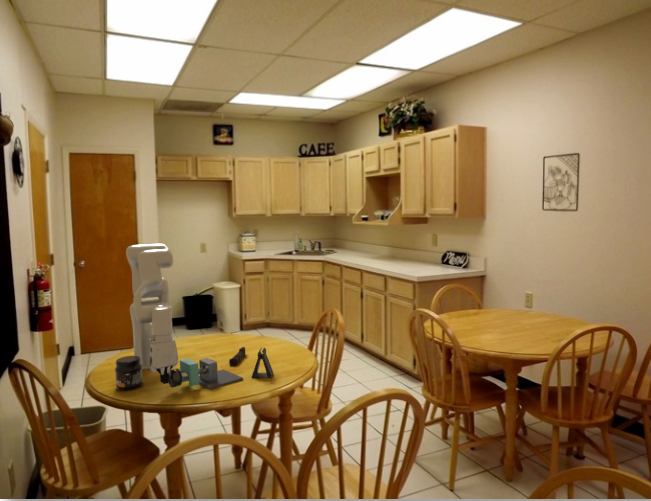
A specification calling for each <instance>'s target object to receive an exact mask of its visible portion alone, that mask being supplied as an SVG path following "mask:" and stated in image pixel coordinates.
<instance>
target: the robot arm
mask: <svg viewBox="0 0 651 501" xmlns="http://www.w3.org/2000/svg"><path fill="white" fill-rule="evenodd" d="M172 253H173V252H172V251H171V249H170V248H169V247H168V246H167V245H166V244H164V243H149V244H148V243H144V244H133V245H129V246H128V247H127V248H126V250H125V255H126V258H127V262H128V265H129V266H130V270H131V280H132V281H131V282H132V295H133V302H132V303H131V304H130V306H129V314H130V319H131V324H132V334H133V335H132V338H133V340H132V341H133V356H139V357H140V360H141V362H140V363H141V364H142V371H144V370H150V372H157V373H158V374H159V381H160V383H161V384H163V385H166V384H169V383H168V380H169V373H170V370H172V369H174V368H175V367H177V366H178V363H179V355H178V354H179V353H178V347H177V343H176V339H174V338H173V337H174V335H173V318H172V317H173V307H172V306H171V305H170V296H169V295H170V291H169V289H170V288H169V283H168V280H167V279H166V278H165V277H163V275H162V270H161V269H169V268H172V266H173V265H174V256H173V254H172ZM151 298H153V299H151ZM155 298H156V299H155ZM141 299H145V300H141Z"/></svg>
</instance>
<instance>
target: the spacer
mask: <svg viewBox="0 0 651 501" xmlns="http://www.w3.org/2000/svg"><path fill="white" fill-rule="evenodd" d="M198 369H199V362H197V361H194V360H193V359H189V358H184V359H180V360H179V370H180V372H181V373H183V372H186V373H188V374H189V377H188V378H184V379H182V383H185V382H188V385H189V387H195V386H199V385H200V384H199V376H200V374H199V370H198Z"/></svg>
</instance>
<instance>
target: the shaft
mask: <svg viewBox="0 0 651 501" xmlns="http://www.w3.org/2000/svg"><path fill="white" fill-rule="evenodd" d="M198 370H199V375H200V374H202V373H206V367H202V368H200V367H198ZM188 377H189V374H188V373H186V372H183V373H181V372H180V368H172V369H171V370H170V373H169V380H168V383H167V384H168V385H169V386H170V388H176V387H179V386H182V383H183V382H182V379H184V378H188Z"/></svg>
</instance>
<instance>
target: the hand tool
mask: <svg viewBox="0 0 651 501" xmlns="http://www.w3.org/2000/svg"><path fill="white" fill-rule="evenodd" d="M245 356H246V347H245V346H243V347H242V346H241V348H239V349H238V352H237V353H236V354H235V355H234V356H233V357H232V358H230V359H229V360H228V364H229V366H230V367H236V366H237V365H238V364H239V362H241V360H242V359H243V358H245Z"/></svg>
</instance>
